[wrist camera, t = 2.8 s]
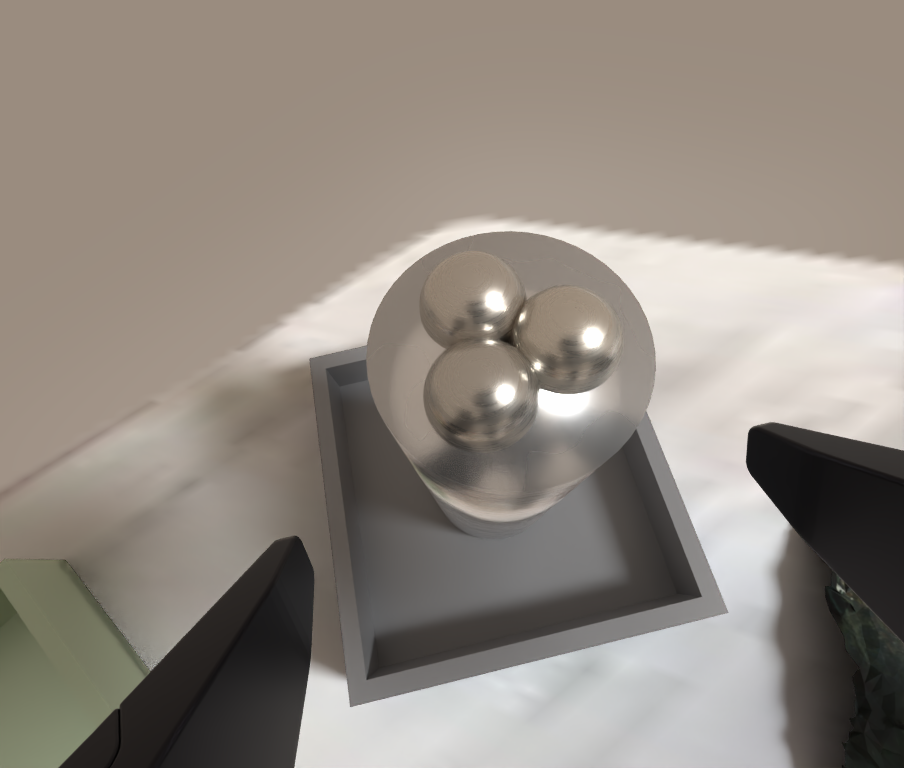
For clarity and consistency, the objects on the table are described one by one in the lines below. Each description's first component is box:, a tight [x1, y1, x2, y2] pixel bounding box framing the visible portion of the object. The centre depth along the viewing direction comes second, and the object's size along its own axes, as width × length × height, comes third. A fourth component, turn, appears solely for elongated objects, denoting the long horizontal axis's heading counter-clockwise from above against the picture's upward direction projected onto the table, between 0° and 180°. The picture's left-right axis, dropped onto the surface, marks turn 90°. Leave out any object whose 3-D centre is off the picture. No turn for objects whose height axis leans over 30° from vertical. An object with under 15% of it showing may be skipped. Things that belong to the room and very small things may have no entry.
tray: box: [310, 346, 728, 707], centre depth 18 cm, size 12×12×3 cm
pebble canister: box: [366, 231, 656, 540], centre depth 13 cm, size 5×5×13 cm
